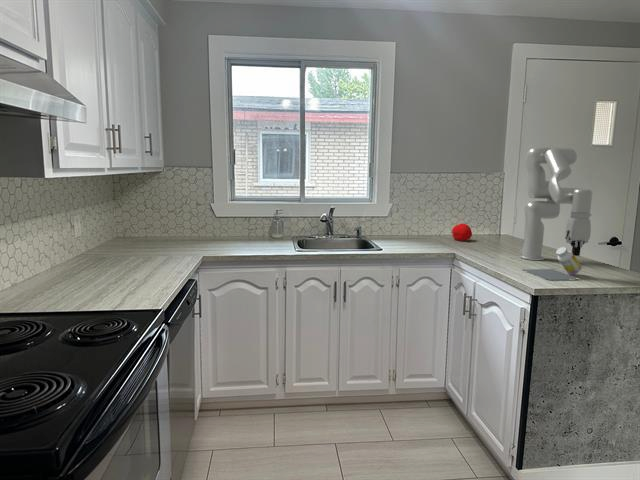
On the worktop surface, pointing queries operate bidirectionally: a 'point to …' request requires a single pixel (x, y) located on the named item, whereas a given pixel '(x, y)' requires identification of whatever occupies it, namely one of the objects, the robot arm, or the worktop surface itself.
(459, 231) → the tomato
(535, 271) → the mat
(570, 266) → the supplement bottle
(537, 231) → the robot arm
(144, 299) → the worktop surface
